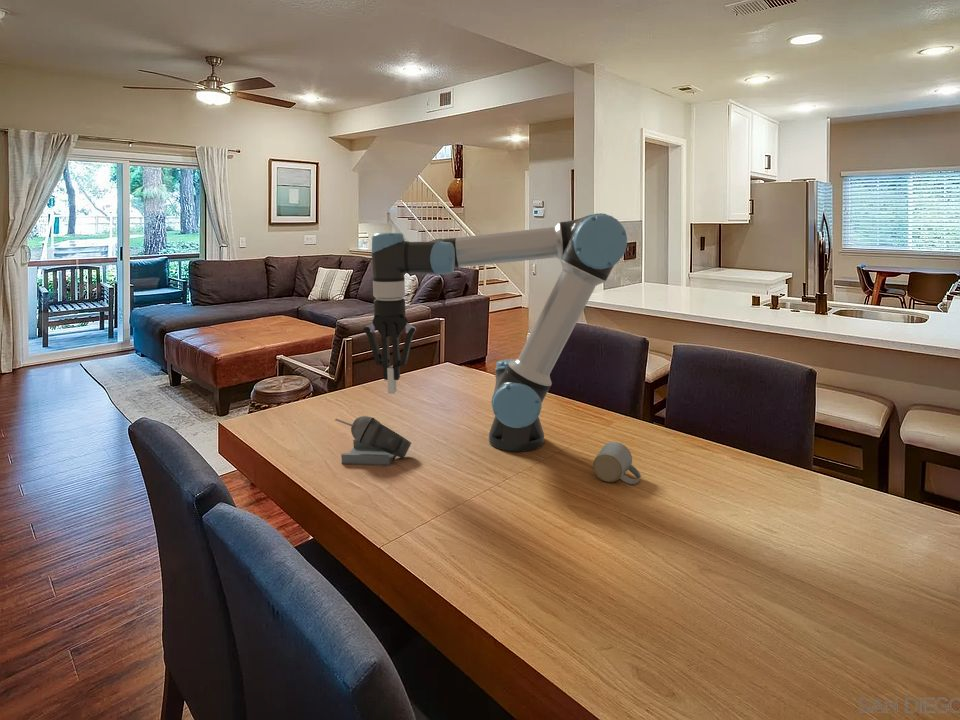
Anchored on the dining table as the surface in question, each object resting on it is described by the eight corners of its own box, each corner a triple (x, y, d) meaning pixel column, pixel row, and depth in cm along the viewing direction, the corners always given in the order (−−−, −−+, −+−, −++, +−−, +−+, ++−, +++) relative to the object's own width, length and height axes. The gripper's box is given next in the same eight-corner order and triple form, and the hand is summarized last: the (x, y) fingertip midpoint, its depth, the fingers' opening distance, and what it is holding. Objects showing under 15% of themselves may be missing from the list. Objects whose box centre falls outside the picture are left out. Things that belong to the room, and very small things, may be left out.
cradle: (398, 449, 156) (398, 440, 155) (388, 465, 145) (388, 456, 145) (354, 447, 157) (354, 439, 156) (341, 463, 146) (341, 454, 146)
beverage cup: (409, 446, 145) (336, 410, 144) (398, 468, 148) (326, 433, 147) (416, 432, 152) (347, 398, 151) (405, 454, 154) (337, 420, 153)
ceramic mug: (590, 480, 137) (592, 449, 136) (600, 467, 144) (602, 438, 143) (635, 490, 133) (638, 459, 131) (643, 477, 140) (646, 447, 138)
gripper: (419, 296, 144) (420, 388, 149) (367, 295, 145) (371, 387, 151) (412, 300, 137) (414, 397, 142) (358, 299, 138) (362, 395, 143)
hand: (392, 392), depth 146 cm, fingers closed
